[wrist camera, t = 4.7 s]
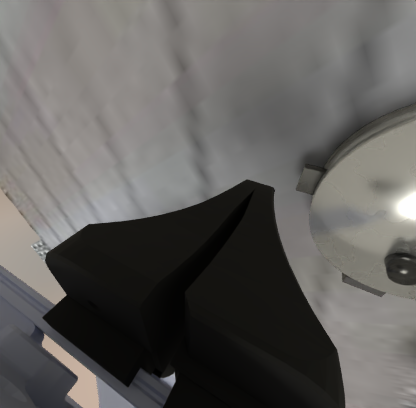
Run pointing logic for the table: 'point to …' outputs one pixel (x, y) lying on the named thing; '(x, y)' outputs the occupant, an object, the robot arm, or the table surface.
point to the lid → (371, 211)
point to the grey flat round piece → (314, 173)
